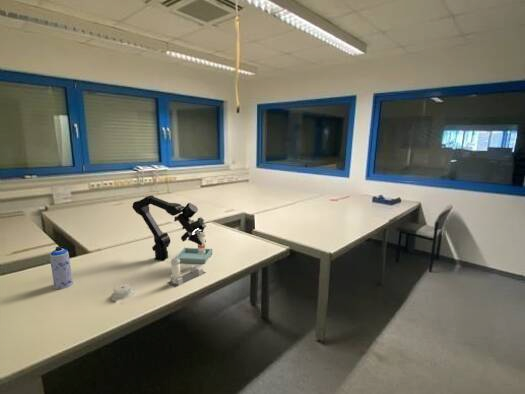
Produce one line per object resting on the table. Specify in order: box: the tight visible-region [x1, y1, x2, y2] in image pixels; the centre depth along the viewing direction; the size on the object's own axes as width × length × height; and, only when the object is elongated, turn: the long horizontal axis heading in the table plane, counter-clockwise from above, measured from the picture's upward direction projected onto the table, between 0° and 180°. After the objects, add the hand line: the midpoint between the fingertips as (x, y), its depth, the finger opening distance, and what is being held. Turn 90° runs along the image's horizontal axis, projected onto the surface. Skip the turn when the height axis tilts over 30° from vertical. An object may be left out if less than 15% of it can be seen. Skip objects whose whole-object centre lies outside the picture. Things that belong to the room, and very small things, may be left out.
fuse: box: [170, 257, 182, 284], centre depth 141 cm, size 4×4×12 cm
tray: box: [174, 247, 213, 264], centre depth 172 cm, size 18×16×4 cm
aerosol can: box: [49, 245, 74, 290], centre depth 138 cm, size 8×8×20 cm
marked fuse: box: [197, 231, 206, 255], centre depth 160 cm, size 4×4×12 cm
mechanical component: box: [110, 283, 136, 302], centre depth 131 cm, size 10×4×10 cm
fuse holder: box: [166, 265, 207, 288], centre depth 147 cm, size 7×20×4 cm, turn 142°
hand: (203, 243), depth 160 cm, fingers closed on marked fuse, 4 cm apart
